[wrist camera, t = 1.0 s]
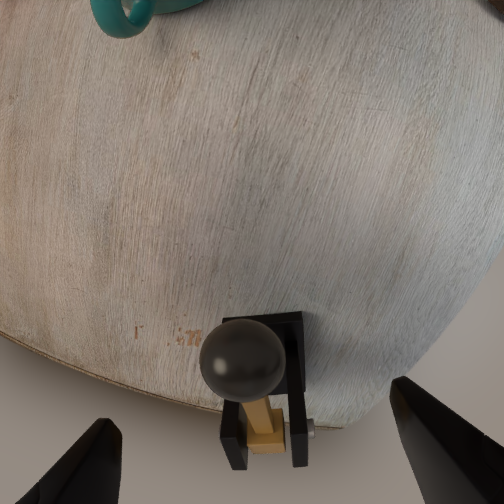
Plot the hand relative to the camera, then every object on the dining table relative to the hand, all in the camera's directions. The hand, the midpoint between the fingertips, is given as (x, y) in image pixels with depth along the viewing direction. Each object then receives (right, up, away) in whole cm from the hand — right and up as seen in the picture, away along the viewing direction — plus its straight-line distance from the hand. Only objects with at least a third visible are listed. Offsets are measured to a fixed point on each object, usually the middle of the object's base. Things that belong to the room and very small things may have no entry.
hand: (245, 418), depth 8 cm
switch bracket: (+1, -3, +17) cm, 17 cm away
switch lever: (0, -2, +7) cm, 8 cm away
